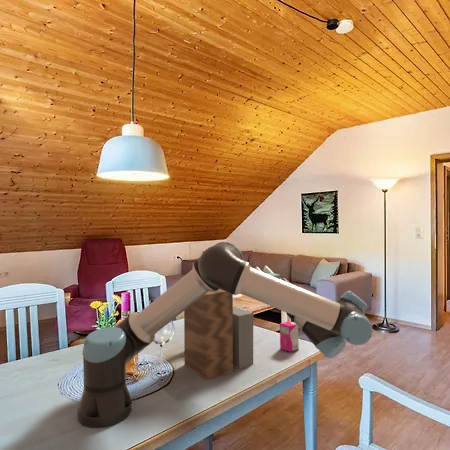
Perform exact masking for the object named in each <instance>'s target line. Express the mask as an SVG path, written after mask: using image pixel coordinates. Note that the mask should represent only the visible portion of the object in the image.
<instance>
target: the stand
mask: <svg viewBox="0 0 450 450" xmlns="http://www.w3.org/2000/svg"><path fill="white" fill-rule="evenodd" d="M233 297H234V295H233V294H231V293H229V292H226V291H224V290H221V289H218V290H217V291H216V292H215V291H208V292H207V293H206V294H205V295H203V296H202V297H201V298H199V299H198V300H197V301H196V302H194V303H193V304H192V305H191V306H189V307H188V308H187V309H186V310H184V311H183V313H184V315H183V316H184V317H183V318H184V321H183V323H184V326H183V327H184V331H183V334H184V336H183V337H184V338H183V339H184V366H185V367H187V368H188V369H190V370H191V371H192V372H194V373H195V374H197V376H200V377H201V378H203V379H204V380H209V379H211V378H215V377H218V376H221V375H223V374H228V373H230V372H233V371H234V365H233V307H234V305H233V304H234V302H233V301H234V298H233Z"/></svg>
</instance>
